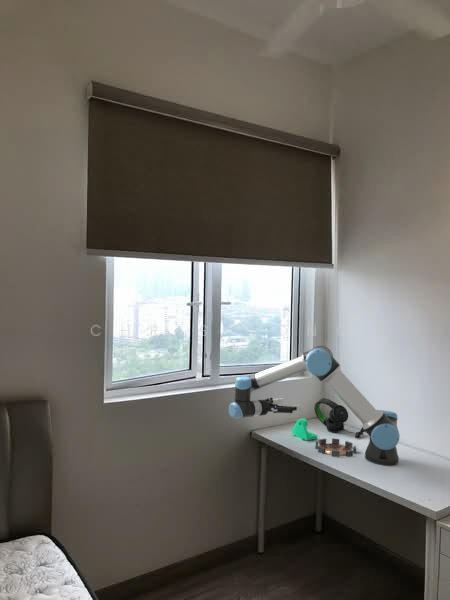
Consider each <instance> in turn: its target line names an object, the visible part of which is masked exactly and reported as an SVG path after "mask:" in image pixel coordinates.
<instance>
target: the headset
mask: <svg viewBox="0 0 450 600" xmlns="http://www.w3.org/2000/svg"><path fill="white" fill-rule="evenodd" d="M321 404H322V405H323V404H324V405H327V406H328V407H329V408H330V409H331V410H330V411H329V413H328V414H329V417H328V418H326V417H325V415H324V413H322V411H321V407H320V406H321ZM313 410H314V413H315V415H316V418H317V419H318V420H319V421H320V422H321V423H322V424H323V425H324V427H326V430H327V431H328V433H331V434H332V433H333V434H336V433H339V432H343V431H345V432H347V433H352V434H354V432H352V431H349V430H346V429H345V422H347V421H348V419H349V411H348V410H347V408H346V407H345V406H343V405H340V404H338V403H336V402H335V401H332V400H331V399H329V398H320V399H319V400H318V401H316V403H315V404H314V409H313ZM364 433H366V432H365V431H364V429H363V426H362V427H361V428H360V430H359V431H357V432H355V434H354V435H355V436H354V438H355V439H359V438H360V437H361V436H362V435H363V436H364Z"/></svg>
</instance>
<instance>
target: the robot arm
mask: <svg viewBox="0 0 450 600" xmlns="http://www.w3.org/2000/svg"><path fill="white" fill-rule="evenodd" d="M304 372H309V373H310V374H311V375H314V376H315V377H316V379H318V380H319V382H321V383H326V384H327V385H328V387H329V388H330V389H331V390H332V391H333V392H334V393H335V394H336V395H337V397H338V398H339V399H340V400H341V401H342V402H343V403H344V404H345V405H346V407H347V408H348V409H349V410H350V411H351V412H352V413H353V414H354V416H356V418H357V419H358V421H360V422H361V423H362V427H363V429H364V431H365V432H364V433H366V434H367V435H368V436H369V442H368V445H367V446H366V449H365V452H364V458H365V460H367V461H368V462H371V463H374V464H376V465H382V466H396V465H398V464H399V459H400V458H399V455H398V450H397V445H398V444H399V440H400V435H401V434H400V432H399V429H398V419H399V418H398V413H396V412H394V411H391V410H383V409H380V410H379V409H376V408H375V407H374V405H373V404H371V402H370V401H369V400H368V399H367V398H366V397H365V396H364V394H362V392H361V391H360V390H359V389H358V388H357V387H356V386H355V385H354V383H353V382H352V381H351V379H349V378H348V377H347V376H346V375H345V374H344V372H343V371H342V370H341V364H339V362H338V361H337V360H336V359H335V358H334V354H333V353H332V350H331V349H330V348H328V347H327V346H324V345H317V346H314V347H313V348H311V349H309V350H308V351H305V352H303V353H301V355H300V356H298V357H296V358H293V359H290V360H288V361H287V360H286V361H285V362H282V363H279V364H277V365H274V366H272V367H269V368H267V369H264V370H262V371H260V372H257V373H255V374H251V375H250V374H249V375H246V376H238V377H236V379H235V384H234V385H235V387H234V400H233V402H231V403H230V404H229V407H228V413H229V416H230V417H231V418H232V419H245V418H250V417H251V418H254V417H257V416H260V417H261V416H265V415H268V413H269V412H272V414H278V413H279V414H282V413H283V414H294V413H293V412H296V411H301V408H302V407H301V404H294V405H283V404H284V400H285V399H284V397H283V398H282V397H281V398H273V397H267V398H265V399H256V400H255V399H254V400H251V394H252V393H253V392H254V391H257V390H259V389H262V388H265V387H267V386H270V385H273V384H275V383H277V382H281V381H282V380H283V381H284V380H286V379H288V378H291V377H293V376H297V375H299V374H302V373H304Z"/></svg>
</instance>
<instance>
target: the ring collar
mask: <svg viewBox="0 0 450 600" xmlns="http://www.w3.org/2000/svg"><path fill="white" fill-rule="evenodd" d="M344 442H345V444H344V445H343V444H340V438H333V437H332V438H331V443H327V438H319V440H318V441H315V449H316V450H317V452H318V453H321V454H322V455H325V454H327V455H330V456H331V457H333V458H334V457H336V458H340V457H345V458H346V457H347V458H349V457H353V456H354V454H357V446H356V445H353V442H351V441H348V440H346V441H344Z"/></svg>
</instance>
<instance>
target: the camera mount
mask: <svg viewBox="0 0 450 600" xmlns="http://www.w3.org/2000/svg"><path fill="white" fill-rule="evenodd" d="M307 427H308V420H307V419H306V418H299V419H297V420H296V423H295V424H294V426H293V428H292V429H291V434H293V435H295V438H297V439H299V440H301V441H304V440H305V441H309V440H317V439H318V434H316V433H313V432H311V431H309V430H308V428H307Z"/></svg>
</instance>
